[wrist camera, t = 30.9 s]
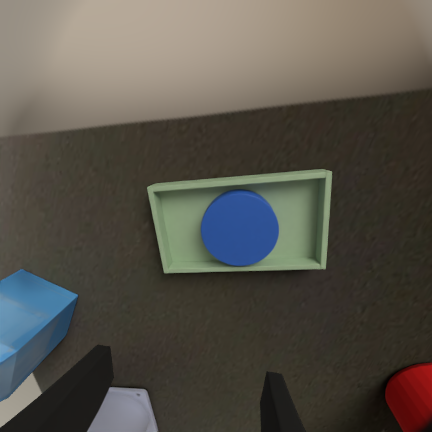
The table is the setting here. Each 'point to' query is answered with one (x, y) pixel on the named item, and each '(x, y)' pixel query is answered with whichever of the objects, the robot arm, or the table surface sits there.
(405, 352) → the table surface
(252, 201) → the lid
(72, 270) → the table surface
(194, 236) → the tray
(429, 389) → the soda can
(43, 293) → the perfume bottle
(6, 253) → the table surface
